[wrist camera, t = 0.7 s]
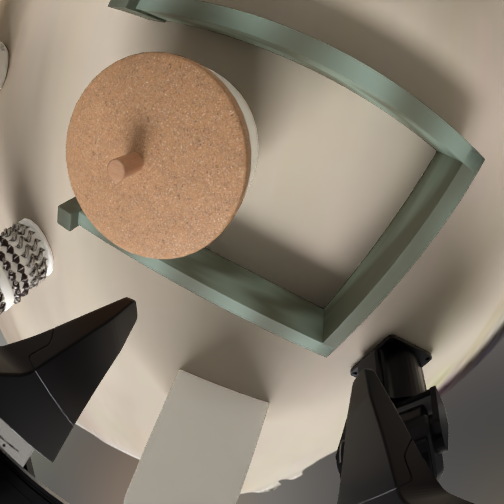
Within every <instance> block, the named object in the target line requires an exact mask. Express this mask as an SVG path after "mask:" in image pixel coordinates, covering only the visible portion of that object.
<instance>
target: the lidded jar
mask: <svg viewBox="0 0 504 504" xmlns="http://www.w3.org/2000/svg"><path fill="white" fill-rule="evenodd" d="M258 145H259V142H258V135H257V128H256V125H255V121H254V118H253V115H252V113H251V111H250V109H249V107H248V105H247V103H246V101H245V100H244V98H243V97H242V96H241V94H240V93H239V92H238V90H237V89H236V88H235V87H234V86H233V85H231V84H230V83H229V82H228V81H227V80H226V79H225V78H223V77H222V76H220V75H219V74H217V73H216V72H214V71H213V70H211V69H209V68H206V67H204V66H202V65H200V64H199V63H197V62H195V61H192V60H190V59H187V58H185V57H182V56H179V55H175V54H169V53H162V52H146V53H140V54H135V55H131V56H128V57H126V58H123V59H121V60H119V61H117V62H115V63H113V64H112V65H110V66H109V67H107V68H106V69H104V70H103V71H102V72H101V73H100V74H99V75H98V76H96V77H95V78H94V79H93V80H92V81H91V83H90V84H89V85H88V87H87V88H86V89H85V91H84V92H83V94H82V95H81V97H80V99H79V100H78V102H77V104H76V106H75V109H74V111H73V114H72V117H71V120H70V124H69V128H68V132H67V142H66V161H67V168H68V174H69V178H70V182H71V186H72V189H73V191H74V194H75V196H76V199H77V201H78V203H79V205H80V207H81V208H82V210H83V212H84V213H85V215H86V216H87V218H88V219H89V220H90V222H91V223H92V224H93V225H94V226H95V228H96V229H97V230H98V231H99V232H100V233H101V234H102V235H104V236H105V237H106V238H107V239H108V240H110V241H111V242H113V243H114V244H115V245H117V246H118V247H120V248H122V249H124V250H126V251H128V252H130V253H133V254H136V255H139V256H142V257H147V258H154V259H173V258H179V257H184V256H187V255H189V254H192V253H195V252H197V251H199V250H201V249H202V248H204V247H206V246H207V245H209V244H210V243H211V242H212V241H213V240H215V239H216V238H217V237H218V236H219V235H220V234H221V233H222V232H223V230H224V229H225V228H226V227H227V226H228V224H229V223H230V222H231V221H232V219H233V218H234V216H235V214H236V212H237V210H238V209H239V207H240V205H241V203H242V201H243V199H244V197H245V195H246V193H247V192H248V190H249V188H250V185H251V182H252V179H253V177H254V174H255V171H256V165H257V160H258Z"/></svg>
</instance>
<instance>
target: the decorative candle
mask: <svg viewBox="0 0 504 504" xmlns="http://www.w3.org/2000/svg"><path fill="white" fill-rule="evenodd" d="M15 228H16V229H15ZM53 269H54V259H53V255H52V251H51V248H50V246H49V243H48V241H47V239H46V237H45V235H44V234H43V232H42V231H41V229H40V228H39V227H38V226H37V225H36V224H35V223H34V222H33V221H32V220H30V219H26V218H24V219H22V220H21V221H19V222H18V223H17V224H15V223H14V224H13V226H12V227H10V228H8V229H4V232H2V233H1V236H0V314H1V313H2V312H3V311H4V310H5V311H7V310H8V309H9V308H10V307H11V306H12V305H13V303H15V304H16V303H17V302H20V300H21V298H20V297H21V296H25V295H27V294H28V290H29V289H33V288H35V287H37V285H38V283H39V282H41V281H43V280H44V279H45V278H46V276H48V275H50V274H51V272H52V271H53Z"/></svg>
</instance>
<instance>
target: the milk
mask: <svg viewBox="0 0 504 504" xmlns="http://www.w3.org/2000/svg"><path fill="white" fill-rule="evenodd" d="M268 406H269V403H268V402H265V401H262V400H259V399H256V398H253V397H250V396H247V395H244V394H241V393H238V392H236V391H233V390H230V389H227V388H225V387H222V386H220V385H217V384H214V383H212V382H209V381H207V380H204V379H202V378H200V377H197V376H195V375H192V374H190V373H188V372H186V371H183V370H181V369H179V371H178V374H177V376H176V378H175V380H174V383H173V385H172V387H171V389H170V392H169V394H168V396H167V398H166V401H165V403H164V405H163V408H162V410H161V412H160V414H159V417H158V419H157V421H156V424H155V426H154V428H153V431H152V433H151V435H150V438H149V440H148V442H147V445H146V447H145V449H144V452H143V454H142V456H141V459H140V461H139V463H138V466H137V468H136V471H135V473H134V475H133V478H132V480H131V483H130V485H129V487H128V490H127V492H126V495H125V499H124V504H236V502H237V500H238V497H239V494H240V491H241V489H242V486H243V483H244V480H245V477H246V474H247V472H248V469H249V466H250V463H251V460H252V457H253V454H254V451H255V448H256V445H257V441H258V438H259V435H260V432H261V429H262V425H263V422H264V419H265V416H266V412H267V409H268Z"/></svg>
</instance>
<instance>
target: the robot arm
mask: <svg viewBox="0 0 504 504" xmlns="http://www.w3.org/2000/svg"><path fill="white" fill-rule="evenodd" d="M136 320H137V307H136V302H135V300H133V299H130V298H128V297H126V298H123V299H120V300H118V301H116V302H113V303H111V304H109V305H106V306H104V307H102V308H99V309H97V310H95V311H92V312H90V313H88V314H85V315H83V316H81V317H78V318H76V319H74V320H71V321H69V322H67V323H64V324H62V325H60V326H57V327H55V329H54V328H53V329H50V330H48V331H46V332H43V333H41V334H38V335H36V336H33V337H30V338H27V339H24V340H21V341H18V342H15V343H11V344H8V345H5V346H0V504H69V503H67V502H66V501H65V500H63V499H62V498H60V497H59V496H58V495H56V494H55V493H53V492H52V491H51V490H50V489H48V488H47V487H46V486H44V485H43V484H42V483H41V482H39V481H38V480H37V479H36V478H35V475H34V471H33V467H32V462H31V458H30V455H31V454H32V452H33V451H34V450H37V451H38V452H39V453H40V454H41V455H43V456H44V457H45V458H46V459H48V460H49V461H51V462H52V463H53V461H54V460H55V458H56V456H57V454H58V453H59V451H60V449H61V447H62V445H63V444H64V442H65V440H66V438H67V437H68V435H69V433H70V431H71V430H72V428H73V426H74V424H75V423H76V421H77V419H78V418H79V416H80V414H81V413H82V411H83V409H84V408H85V406H86V404H87V403H88V401H89V400H90V398H91V396H92V395H93V393H94V392H95V390H96V388H97V387H98V385H99V384H100V382H101V380H102V379H103V377H104V376H105V374H106V373H107V371H108V369H109V368H110V366H111V365H112V363H113V362H114V360H115V359H116V357H117V356H118V354H119V353H120V351H121V349H122V347H123V345H124V344H125V342H126V340H127V338H128V336H129V334H130V332H131V330H132V328H133V326H134V324H135V322H136ZM390 340H391V341H390ZM431 359H432V356H431V354H430V353H429V352H427V351H425V350H423V349H421V348H419V347H417V346H415V345H413V344H411V343H409V342H407V341H405V340H403V339H401V338H399V337H397V336H395V335H390V336H388V337H387V338H386V339H385V340H384V341H383V342H382V343H380V344H379V345H378V346H377V347H376V348H375V349H374V350H373V351H372V352H371V353H369V354H368V355H367V356H366V357H365V358H364V359H363V360H361V361H360V362H359V363H358V364H357V365H356V366H354V367H353V368H352V369H351V371H350V372H351V375H352V376H354V377H357V378H356V379H355V380H354V382H353V386H352V392H351V398H350V404H349V410H348V415H347V419H346V423H345V426H344V430H343V433H342V437H341V440H340V443H339V447H338V450H337V454H336V460H337V467H338V470H339V473H340V479H341V482H340V488H339V495H338V502H337V504H474V503H471V502H469V501H466V500H464V499H461V498H459V497H457V496H454V495H452V494H450V493H448V492H446V490H444V489H443V488H442V487H441V485H440V484H439V480H440V478H441V476H442V473H443V471H444V463H443V455H442V453H444V452H447V451H448V437H449V435H448V434H449V425H448V419H447V415H446V410H445V406H444V403H443V401H442V399H441V397H440V395H439V392H438V390H437V388H436V386H433V387H431V388H430V389H429V390H427V389H426V385H425V380H424V375H423V371H422V367H423V366H424V365H425V364H427V363H428V362H429V361H430V360H431Z"/></svg>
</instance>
